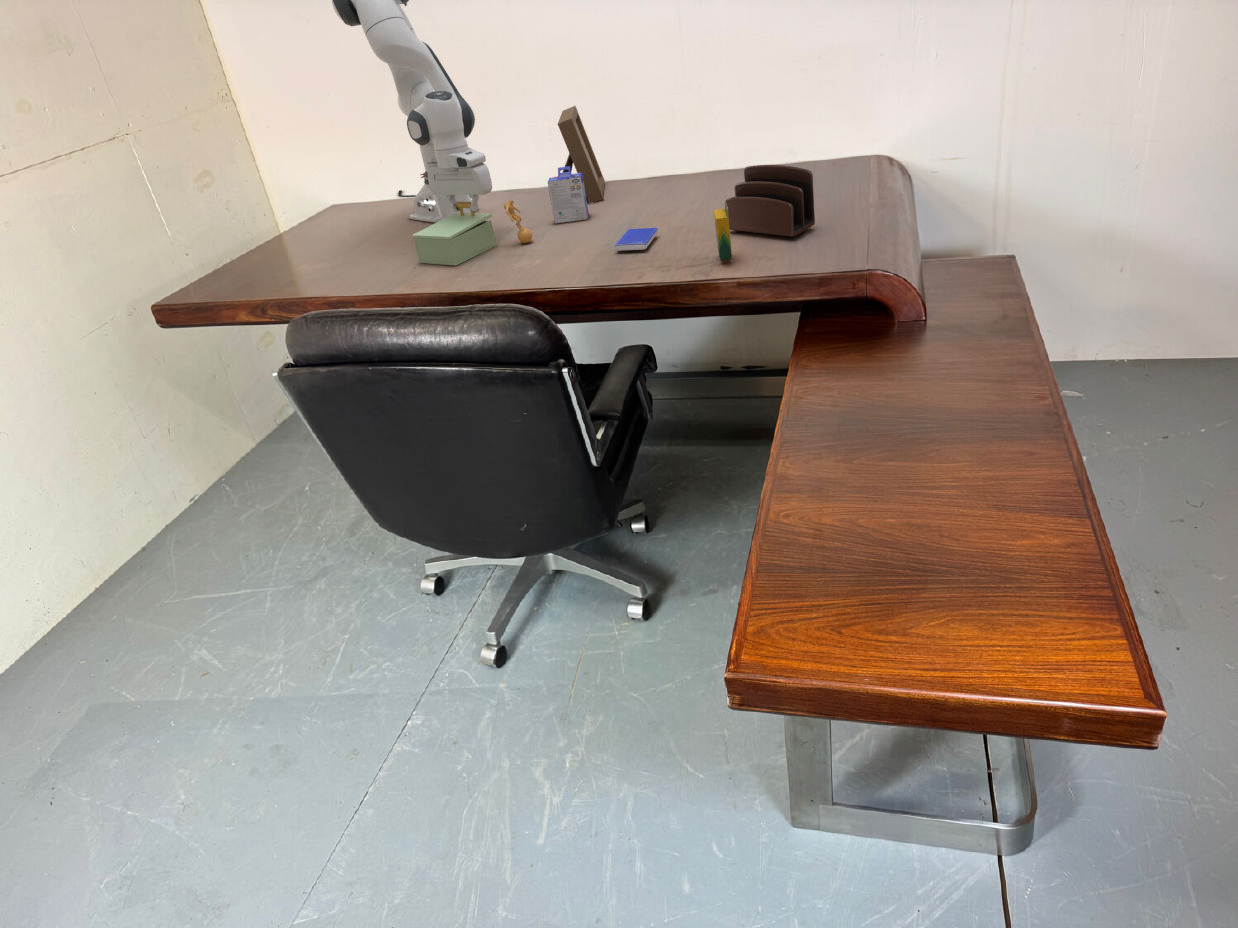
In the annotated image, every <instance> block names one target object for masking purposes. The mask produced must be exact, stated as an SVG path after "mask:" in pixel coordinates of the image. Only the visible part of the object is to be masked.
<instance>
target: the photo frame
mask: <svg viewBox="0 0 1238 928" xmlns="http://www.w3.org/2000/svg"><path fill="white" fill-rule="evenodd" d="M557 126H558V129H559V131H560V133H561V136H562V139H563V141H564V144H565V146H566V149H567V151H568V156H567V158H566V162H565V163H564V167H568V166H570V170H571V172H572V171H573V166H574V169H575V171H576V173H582V175H583V181H584V187H585V193H586V199H587V200H588V201H587V202H588V203H589V204H592V203H593V204H594V203H596V202H599V201H601V200H603V199H604V192H605V184H606V180H605V177H604V175H603V173H602V172H603V171H602V170H601V167H600V164H599V163H598V160H597V157H596V155H595V152H594V149H593V147H592V145H591V142H590V139H589V136H588V134H587V132H586V128H585V127H584V124H583V121H582V118H581V116H580V113H579V111H578V109H577V106H576V105H573V106H571V107H567V108H565V109H563V110H562V111H561V113H560V117H559V119H558V122H557ZM568 171H569V170H566V169H564V170H562V171H561V173H563V172H568Z"/></svg>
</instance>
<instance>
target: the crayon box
mask: <svg viewBox="0 0 1238 928" xmlns="http://www.w3.org/2000/svg"><path fill="white" fill-rule="evenodd" d="M725 206H726V208H725ZM713 215H714V216H713V217H714V223H715V224H714V225H715V235H716V236H715V237H716V246H717V252H718V257H719V261H727V260H732V259H733V250H732V241H731V231H730V228H729V215H728V207H727V204H726V200H724V208H718V209H714V210H713Z"/></svg>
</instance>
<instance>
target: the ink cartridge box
mask: <svg viewBox="0 0 1238 928" xmlns="http://www.w3.org/2000/svg"><path fill="white" fill-rule="evenodd" d="M564 169H566V170H569V171H568V172H563V170H564ZM562 172H563V173H562ZM547 186H548V192H549V198H550V202H551V208H552V215H553V220H554V224H562V223H569V222H578V221H584V220H588V219H589V216H590V212H589V207H588V201H587V200H588V198H587V196H586V193H585V187H584V181H583V175H582V173H577V172H576V173H572V171H571V170H570V166H568V167H565V166H561V167H557V176H551V177H549V178H548V180H547Z"/></svg>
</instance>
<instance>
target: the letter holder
mask: <svg viewBox="0 0 1238 928" xmlns="http://www.w3.org/2000/svg"><path fill="white" fill-rule="evenodd" d="M743 176H744V178H743V179H744V181H743V182H738V183H737V182H736V184H734V185H735V186H734V196H732V197H728V198H726V199H725V201H726V204H727V207H728V215H729V228H730V230H731V231H738V232H746V233H755V234H761V235H763V234H764V235H772V236H781V237H788V238H794V237H796V236H798V235H799V234H801V233H803V232H805V231H806V230H809V229H810V228H811V227H813V226H815V223H816V216H815V198H814V197H815V196H814V195H815V194H814V175H813V172H812V171H811V170H809V169H806V168H802V167H797V166H791V165H783V164H757V165H755V164H754V165H748V166H745V168H744V169H743ZM725 208H726V206H725V205H724V209H725Z"/></svg>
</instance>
